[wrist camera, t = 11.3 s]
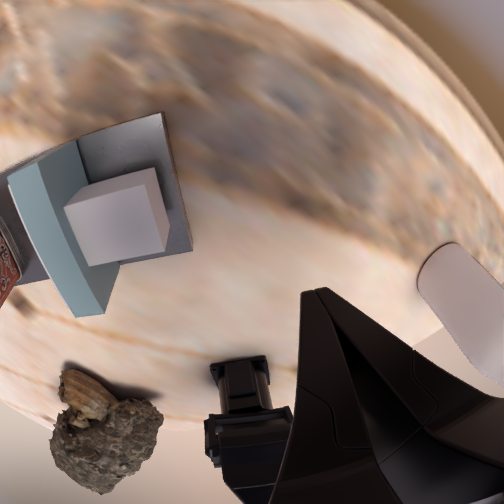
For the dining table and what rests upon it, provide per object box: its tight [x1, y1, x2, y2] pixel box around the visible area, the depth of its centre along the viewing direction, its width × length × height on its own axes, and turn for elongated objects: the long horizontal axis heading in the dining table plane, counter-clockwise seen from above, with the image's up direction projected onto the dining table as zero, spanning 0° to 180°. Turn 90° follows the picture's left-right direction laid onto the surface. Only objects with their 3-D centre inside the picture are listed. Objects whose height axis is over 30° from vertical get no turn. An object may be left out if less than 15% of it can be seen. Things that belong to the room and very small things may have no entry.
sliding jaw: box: [7, 140, 170, 318], centre depth 15 cm, size 10×8×5 cm
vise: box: [0, 112, 193, 286], centre depth 15 cm, size 10×26×6 cm, turn 97°
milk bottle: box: [418, 243, 504, 387], centre depth 20 cm, size 8×8×20 cm
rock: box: [49, 369, 164, 495], centre depth 27 cm, size 18×14×15 cm
